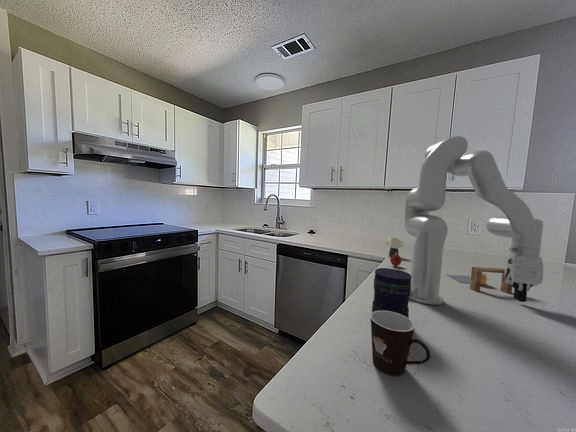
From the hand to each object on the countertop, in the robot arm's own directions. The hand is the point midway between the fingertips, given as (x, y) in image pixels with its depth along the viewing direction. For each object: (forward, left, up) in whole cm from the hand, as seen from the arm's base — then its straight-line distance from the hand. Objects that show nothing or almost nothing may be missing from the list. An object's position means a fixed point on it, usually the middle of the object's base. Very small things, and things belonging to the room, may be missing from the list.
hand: (519, 300), depth 87 cm
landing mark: (0, +28, -2) cm, 28 cm away
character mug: (-18, +70, -2) cm, 72 cm away
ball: (+1, +22, +1) cm, 22 cm away
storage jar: (-56, -21, -2) cm, 60 cm away
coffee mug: (-63, -41, -2) cm, 75 cm away
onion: (-27, +45, -2) cm, 53 cm away
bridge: (0, +13, -2) cm, 13 cm away
